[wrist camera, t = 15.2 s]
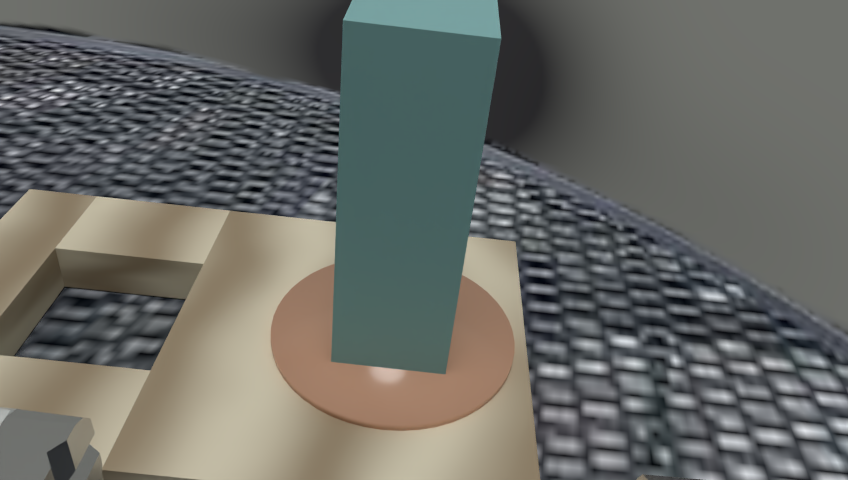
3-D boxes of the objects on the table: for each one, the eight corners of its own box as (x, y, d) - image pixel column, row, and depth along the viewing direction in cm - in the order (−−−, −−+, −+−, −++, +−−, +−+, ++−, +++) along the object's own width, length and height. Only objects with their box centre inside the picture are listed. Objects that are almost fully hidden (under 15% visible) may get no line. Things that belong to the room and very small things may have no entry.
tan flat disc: (243, 415, 23) (242, 409, 23) (296, 251, 30) (296, 245, 30) (521, 444, 23) (523, 438, 23) (507, 273, 30) (508, 268, 30)
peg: (331, 361, 25) (343, 20, 18) (347, 289, 28) (362, -24, 21) (445, 374, 25) (501, 38, 18) (448, 300, 28) (496, -8, 21)
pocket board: (-185, 481, 22) (-212, 438, 21) (39, 225, 33) (29, 189, 32) (531, 552, 22) (543, 514, 21) (507, 276, 34) (515, 241, 32)
